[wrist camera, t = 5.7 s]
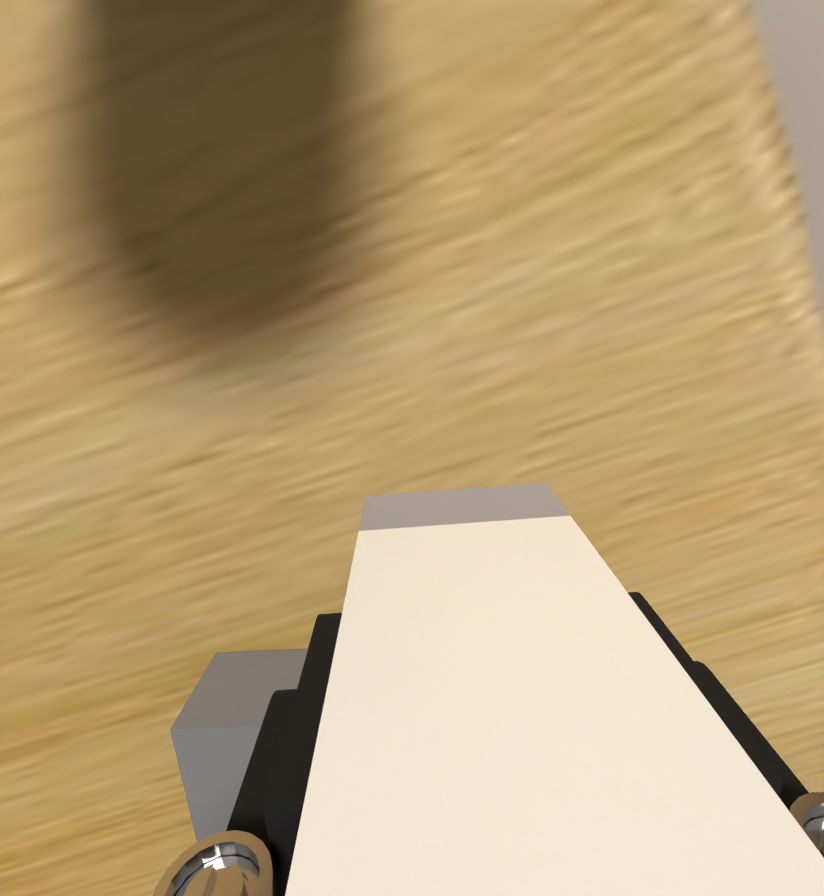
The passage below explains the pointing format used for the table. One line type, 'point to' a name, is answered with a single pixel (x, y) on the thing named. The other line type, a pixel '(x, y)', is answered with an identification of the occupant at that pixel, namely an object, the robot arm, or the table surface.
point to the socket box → (227, 728)
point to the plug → (522, 726)
